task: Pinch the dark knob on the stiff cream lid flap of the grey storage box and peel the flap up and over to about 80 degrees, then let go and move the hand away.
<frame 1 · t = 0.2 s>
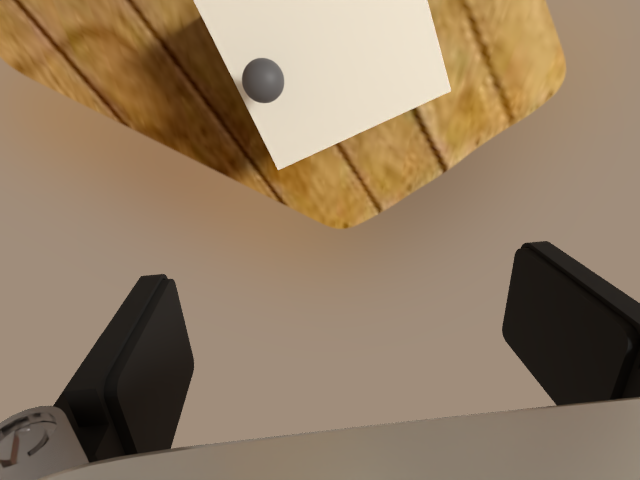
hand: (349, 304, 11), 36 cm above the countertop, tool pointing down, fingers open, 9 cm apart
flap: (333, 46, 30), point 11 cm above the countertop, hinge at 0.0°
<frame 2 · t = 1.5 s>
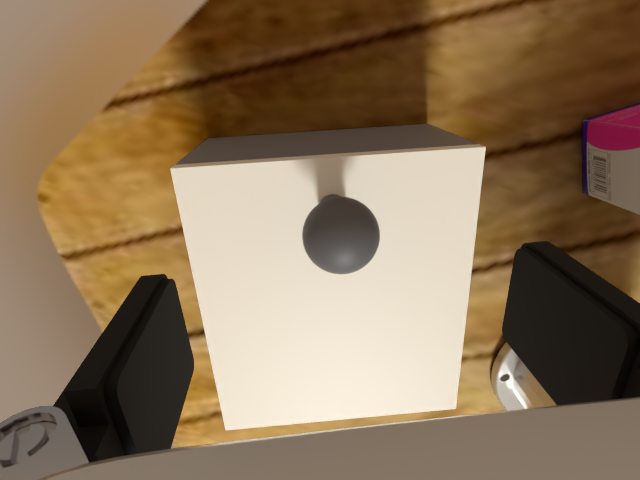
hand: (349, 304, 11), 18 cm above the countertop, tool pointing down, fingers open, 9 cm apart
flap: (341, 333, 20), point 11 cm above the countertop, hinge at 0.0°
supplement box: (618, 145, 29), on the countertop
grey storage box: (324, 244, 30), on the countertop
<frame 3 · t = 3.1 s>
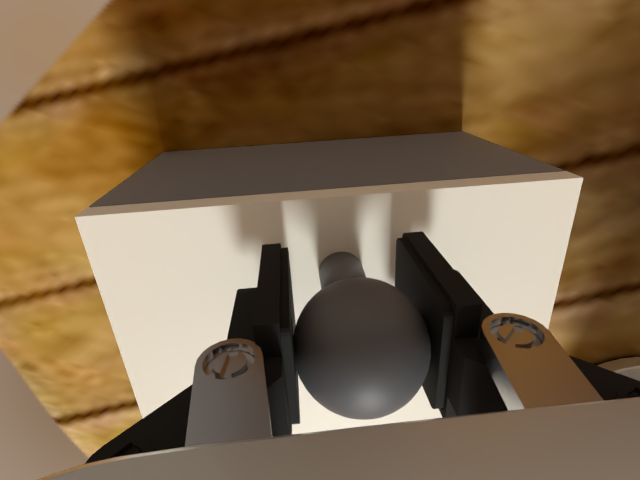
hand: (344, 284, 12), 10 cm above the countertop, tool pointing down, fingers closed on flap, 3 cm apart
flap: (354, 461, 13), point 11 cm above the countertop, hinge at 0.0°, touching gripper
grey storage box: (324, 287, 23), on the countertop
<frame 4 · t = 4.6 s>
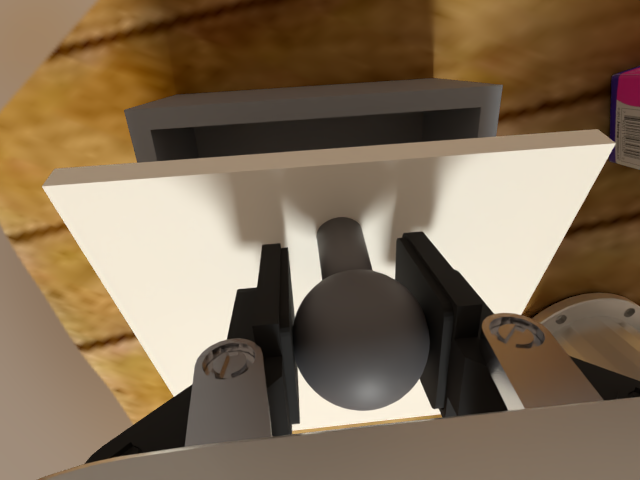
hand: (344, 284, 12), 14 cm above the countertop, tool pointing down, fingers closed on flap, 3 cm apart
flap: (345, 394, 14), point 14 cm above the countertop, hinge at 18.8°, touching gripper
grey storage box: (316, 221, 26), on the countertop
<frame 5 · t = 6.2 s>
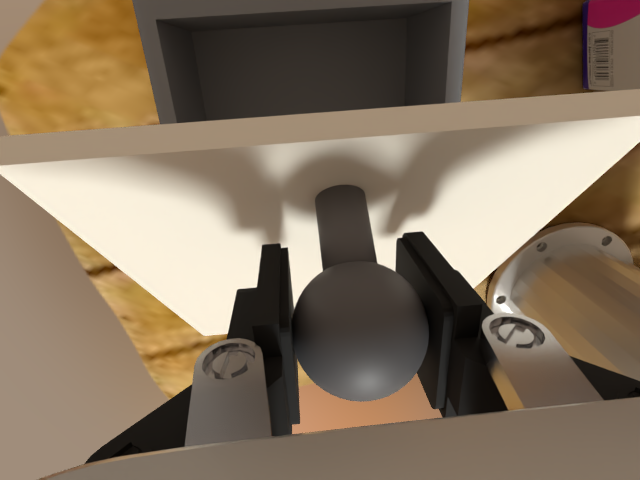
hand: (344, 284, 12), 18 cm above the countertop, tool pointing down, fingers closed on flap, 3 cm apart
flap: (339, 327, 15), point 16 cm above the countertop, hinge at 40.0°, touching gripper
supplement box: (620, 34, 27), on the countertop
grey storage box: (308, 147, 28), on the countertop
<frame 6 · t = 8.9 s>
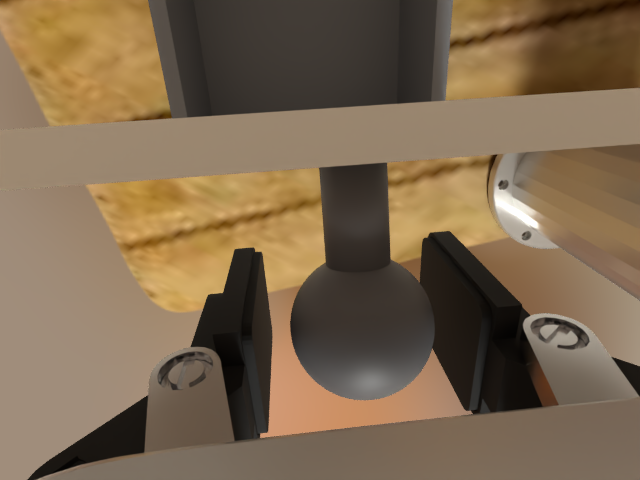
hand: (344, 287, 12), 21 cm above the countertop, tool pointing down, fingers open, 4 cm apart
flap: (331, 221, 14), point 17 cm above the countertop, hinge at 77.3°
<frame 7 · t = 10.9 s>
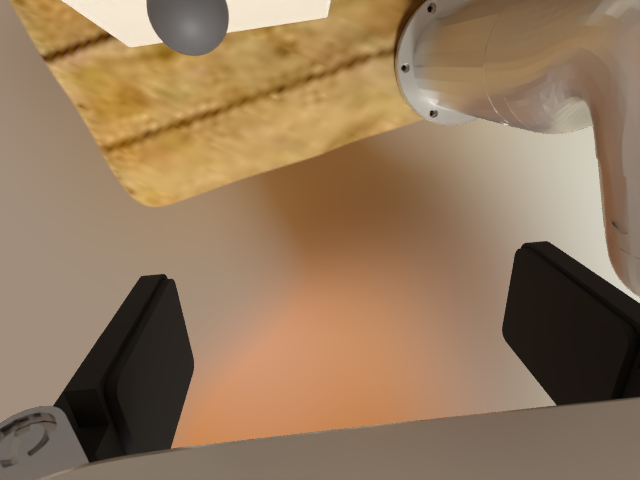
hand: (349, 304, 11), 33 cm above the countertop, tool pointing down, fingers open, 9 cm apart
flap: (212, 25, 22), point 17 cm above the countertop, hinge at 77.3°
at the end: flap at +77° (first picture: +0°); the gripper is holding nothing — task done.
